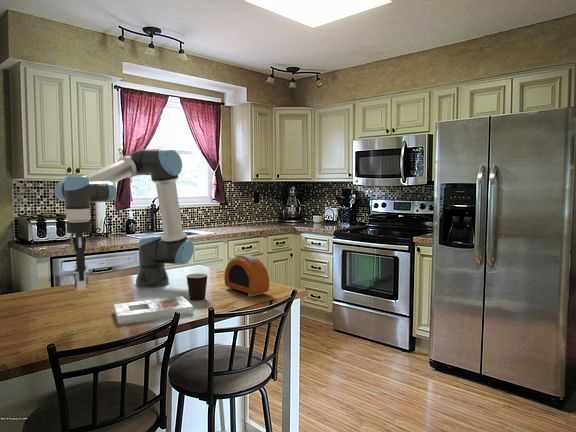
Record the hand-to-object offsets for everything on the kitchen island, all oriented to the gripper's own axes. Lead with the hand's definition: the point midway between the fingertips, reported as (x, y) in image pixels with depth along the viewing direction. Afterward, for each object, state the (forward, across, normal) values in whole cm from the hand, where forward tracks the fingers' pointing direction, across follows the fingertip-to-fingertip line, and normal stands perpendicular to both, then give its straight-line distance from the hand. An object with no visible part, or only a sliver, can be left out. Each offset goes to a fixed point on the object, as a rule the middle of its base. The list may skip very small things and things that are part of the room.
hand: (81, 287), depth 147 cm
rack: (+13, 0, +24) cm, 27 cm away
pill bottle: (+1, 0, 0) cm, 1 cm away
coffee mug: (+13, -13, +45) cm, 48 cm away
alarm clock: (+14, -14, +67) cm, 69 cm away
